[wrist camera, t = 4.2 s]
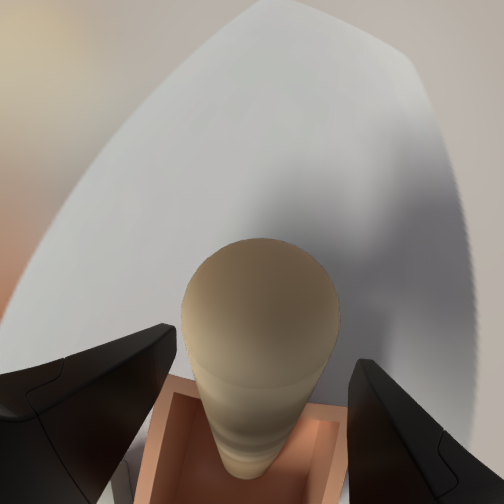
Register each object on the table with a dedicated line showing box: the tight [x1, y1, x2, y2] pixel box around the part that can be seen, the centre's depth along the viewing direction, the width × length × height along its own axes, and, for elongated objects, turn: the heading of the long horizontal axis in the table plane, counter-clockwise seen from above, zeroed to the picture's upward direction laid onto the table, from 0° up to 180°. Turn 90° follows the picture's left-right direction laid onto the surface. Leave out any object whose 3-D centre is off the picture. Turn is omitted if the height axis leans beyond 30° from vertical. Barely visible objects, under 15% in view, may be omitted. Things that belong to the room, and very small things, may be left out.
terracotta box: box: [134, 374, 348, 504], centre depth 11 cm, size 7×7×5 cm
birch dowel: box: [181, 238, 340, 480], centre depth 8 cm, size 6×2×12 cm, turn 169°
